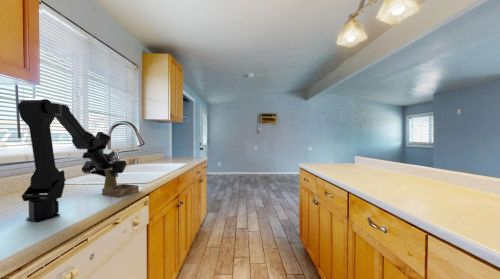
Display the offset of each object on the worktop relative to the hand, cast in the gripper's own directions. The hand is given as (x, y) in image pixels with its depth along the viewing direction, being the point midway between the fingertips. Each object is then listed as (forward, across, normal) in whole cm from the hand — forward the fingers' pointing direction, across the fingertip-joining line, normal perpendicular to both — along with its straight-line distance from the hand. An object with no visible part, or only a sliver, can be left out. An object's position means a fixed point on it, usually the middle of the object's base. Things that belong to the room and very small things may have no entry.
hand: (112, 176), depth 112 cm
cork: (+4, 0, +6) cm, 7 cm away
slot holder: (-1, -9, +10) cm, 13 cm away
